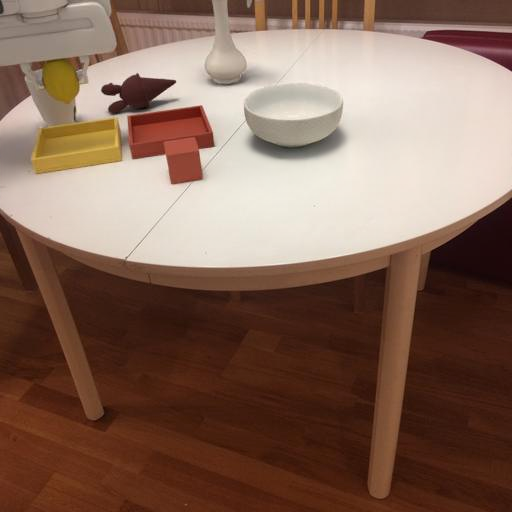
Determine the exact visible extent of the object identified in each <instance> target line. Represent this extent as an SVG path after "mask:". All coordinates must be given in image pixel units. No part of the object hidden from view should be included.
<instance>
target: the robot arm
mask: <svg viewBox="0 0 512 512" xmlns="http://www.w3.org/2000/svg"><path fill="white" fill-rule="evenodd" d="M112 12H113V9H112V5H111V0H0V67H7V66H14V65H15V66H16V65H19V66H20V70H21V72H22V73H23V74H25V76H26V75H27V76H28V77H29V78H30V79H31V80H33V83H34V86H35V89H36V90H43V89H46V88H45V86H44V82H43V77H42V76H37V75H36V74H35V73H34V70H33V69H32V66H33V64H32V63H37V62H38V63H39V62H47V61H48V60H55V59H63V58H64V59H69V58H77V57H78V59H79V62H80V64H83V65H82V68H81V70H76V72H77V79H78V82H79V85H80V86H81V85H87V84H89V77H88V70H89V66H90V61H91V56H92V55H93V56H95V55H101V54H107V53H113V52H114V51H115V50H116V49H117V46H118V45H117V37H116V34H115V30H114V26H113V24H112V21H111V18H110V17H111V16H112Z"/></svg>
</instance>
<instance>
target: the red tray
mask: <svg viewBox="0 0 512 512" xmlns="http://www.w3.org/2000/svg"><path fill="white" fill-rule="evenodd" d="M126 116H127V117H126V118H127V130H128V143H129V144H128V145H129V149H130V154H131V158H132V160H135V159H142V158H143V159H144V158H148V157H156V156H161V155H166V153H165V147H164V142H165V141H171V140H178V139H185V138H191V137H195V139H196V142H197V145H198V148H199V150H201V149H208V148H213V147H216V146H215V139H214V137H215V136H214V132H213V129H212V126H211V124H210V122H209V119H208V116H207V114H206V111H205V109H204V106H203V104H201V105H193V106H187V107H180V108H172V109H166V110H157V111H152V112H151V111H150V112H143V113H137V114H131V115H130V114H129V115H126Z"/></svg>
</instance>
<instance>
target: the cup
mask: <svg viewBox="0 0 512 512" xmlns="http://www.w3.org/2000/svg"><path fill="white" fill-rule="evenodd" d="M42 69H43V68H41V69H37V70H33V72H34V73H35V74H36V75H37V76H42ZM24 81H25V83H26V87H27V89H28V91H29V93H30V96H31V99H32V101H33V103H34V105H35V107H36V109H37V110H38V112H39V114H40V116H41V118H42V120H43V121H44V122H45V124H46V125H47V127H52V126H59V125H66V124H73V123H77V103H76V102H77V101H76V97H75V98H74V99H73V100H72V101H71V103H70V104H65V103H64V102H61V101H57V100H55V99H54V98H52V97H51V96H50V95H49V93H48V92H47V90H46V89H43V90H36V89H35V86H34V83H33V80H31V79H30V78H29V77H28V76H27V75H26V74H25V76H24Z"/></svg>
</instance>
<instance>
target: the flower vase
mask: <svg viewBox="0 0 512 512" xmlns="http://www.w3.org/2000/svg"><path fill="white" fill-rule="evenodd" d="M255 1H256V2H257V3H260V2H261V0H255ZM228 2H229V1H228V0H211V4H212V9H213V20H214V21H213V22H214V42H213V46H212V48H211V50H210V52H209V53H208V54H207V56H206V58H205V61H204V70H205V72H206V73H207V75H208V76H209V77H211V78H212V81H213V83H215V84H217V85H231V84H236V83H238V82H240V81H241V78H242V77H241V76H242V75H243V74H244V73H245V71H246V69H247V67H248V66H247V63H248V62H247V59H246V57H245V56H244V54H243V53H242V52H241V51H240V50H239V49H238V48H237V47H236V44H235V43H234V40H233V38H232V34H231V27H230V19H229V18H230V17H229V9H228ZM252 2H253V0H246V8H248V9H249V8H250V7H251V5H252Z"/></svg>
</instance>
